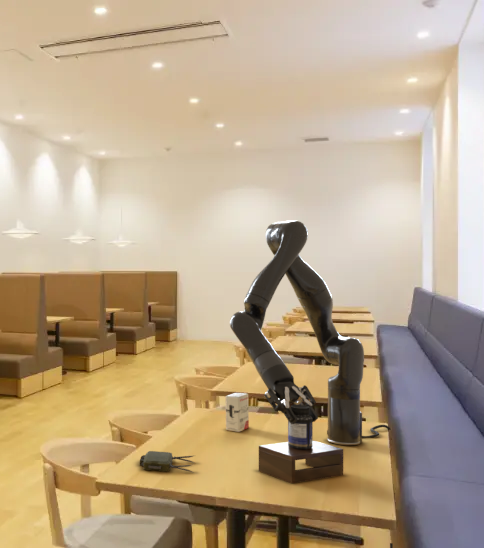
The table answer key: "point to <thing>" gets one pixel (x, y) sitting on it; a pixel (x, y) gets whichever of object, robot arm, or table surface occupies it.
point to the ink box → (237, 412)
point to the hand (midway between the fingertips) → (305, 421)
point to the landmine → (161, 461)
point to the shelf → (282, 459)
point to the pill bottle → (301, 428)
